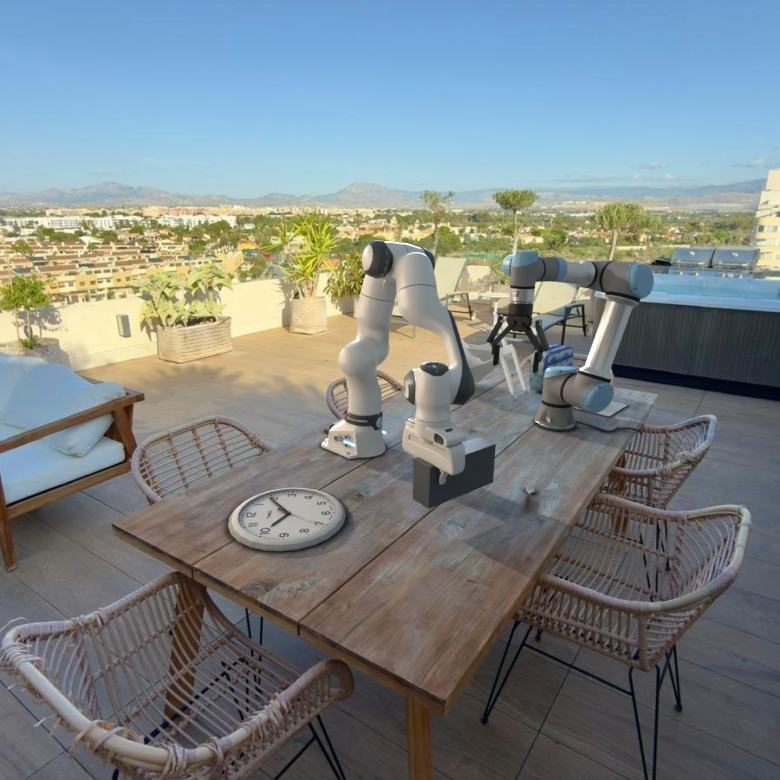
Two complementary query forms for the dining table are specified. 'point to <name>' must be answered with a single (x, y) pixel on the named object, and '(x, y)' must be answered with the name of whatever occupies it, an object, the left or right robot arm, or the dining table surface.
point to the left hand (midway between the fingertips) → (431, 477)
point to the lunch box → (550, 364)
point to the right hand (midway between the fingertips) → (514, 368)
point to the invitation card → (610, 408)
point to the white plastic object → (483, 361)
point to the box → (468, 480)
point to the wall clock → (287, 519)
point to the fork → (529, 490)
